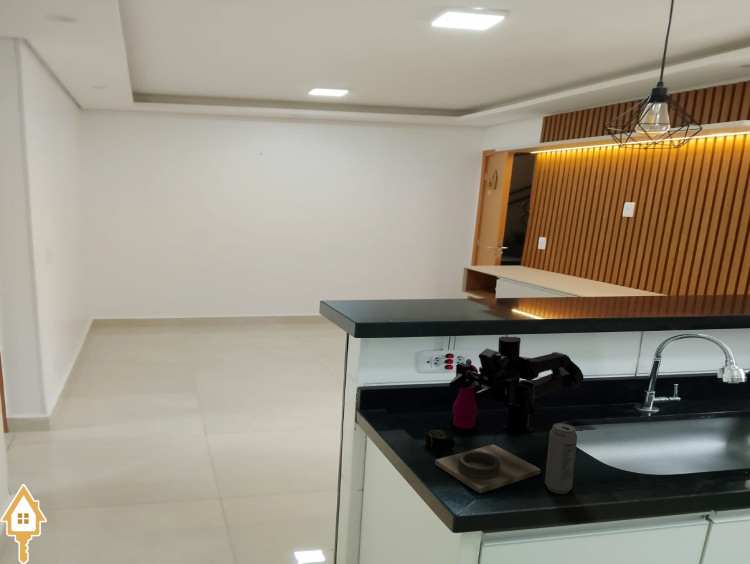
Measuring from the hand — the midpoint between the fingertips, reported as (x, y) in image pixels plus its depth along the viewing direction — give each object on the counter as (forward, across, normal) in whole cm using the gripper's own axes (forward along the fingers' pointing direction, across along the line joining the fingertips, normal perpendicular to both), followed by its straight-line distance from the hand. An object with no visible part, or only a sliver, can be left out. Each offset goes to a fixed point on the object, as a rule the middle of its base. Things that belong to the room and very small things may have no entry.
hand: (462, 389), depth 147 cm
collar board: (+3, +11, +16) cm, 20 cm away
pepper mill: (-13, -11, +18) cm, 25 cm away
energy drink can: (-3, +27, +17) cm, 32 cm away
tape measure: (+3, -5, +17) cm, 18 cm away
